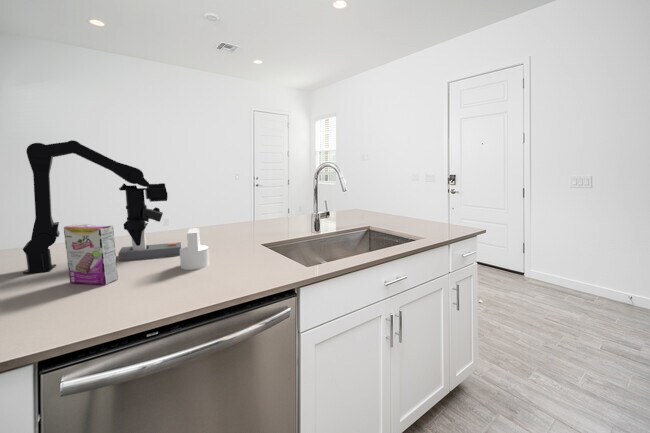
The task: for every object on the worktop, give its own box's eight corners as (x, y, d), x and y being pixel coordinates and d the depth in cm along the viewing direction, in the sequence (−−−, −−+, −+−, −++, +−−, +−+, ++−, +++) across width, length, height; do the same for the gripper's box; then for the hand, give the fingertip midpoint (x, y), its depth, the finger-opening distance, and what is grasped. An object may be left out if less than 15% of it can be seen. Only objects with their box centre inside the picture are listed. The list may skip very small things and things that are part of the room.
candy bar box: (68, 284, 87) (61, 226, 85) (84, 278, 92) (78, 223, 89) (105, 285, 86) (99, 227, 83) (119, 279, 91) (114, 224, 88)
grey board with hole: (198, 253, 120) (197, 243, 120) (119, 261, 109) (118, 250, 109) (197, 247, 128) (196, 238, 128) (123, 254, 117) (122, 245, 117)
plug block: (145, 251, 115) (143, 229, 113) (132, 252, 113) (130, 230, 112) (146, 249, 118) (144, 227, 117) (134, 250, 116) (132, 228, 115)
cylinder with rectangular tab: (182, 262, 108) (180, 228, 106) (210, 260, 110) (208, 227, 109) (178, 270, 99) (176, 234, 97) (208, 268, 102) (206, 232, 100)
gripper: (159, 204, 108) (162, 247, 110) (161, 199, 125) (164, 237, 127) (121, 205, 103) (125, 250, 106) (129, 200, 120) (132, 240, 122)
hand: (139, 244), depth 115 cm, fingers closed on plug block, 4 cm apart
